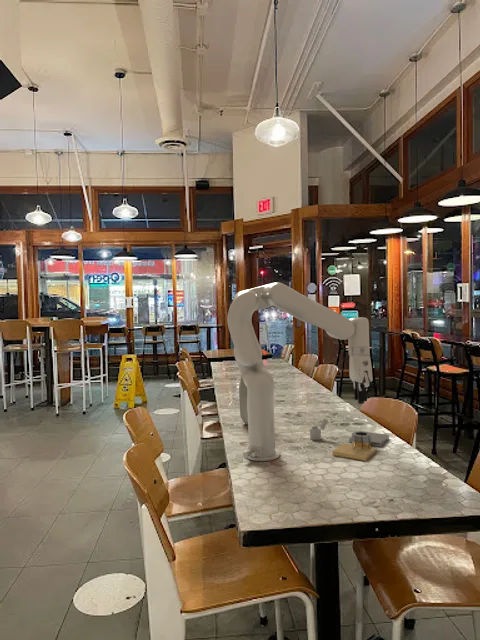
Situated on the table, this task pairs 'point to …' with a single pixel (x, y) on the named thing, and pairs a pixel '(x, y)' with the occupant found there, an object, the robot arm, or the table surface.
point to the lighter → (317, 431)
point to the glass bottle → (243, 401)
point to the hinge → (361, 445)
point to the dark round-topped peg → (357, 392)
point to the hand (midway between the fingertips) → (360, 400)
